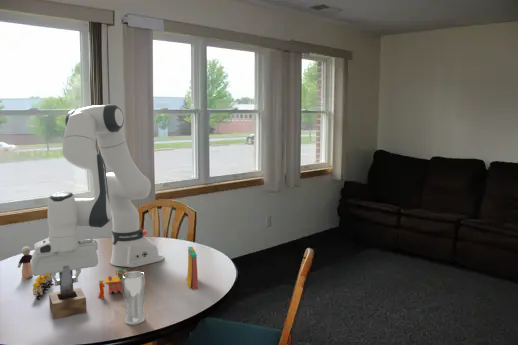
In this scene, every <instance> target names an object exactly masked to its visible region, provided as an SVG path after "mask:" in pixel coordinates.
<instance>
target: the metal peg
mask: <svg viewBox="0 0 518 345" xmlns="http://www.w3.org/2000/svg"><path fill="white" fill-rule="evenodd" d="M73 273H74V272H73V270H70V269H69V266H64V267H63V272H58V275H59V278H58V279H60V285H59V291H60V295H61V300H63V299H68V298H73V297H74V291H73V289H74V283H73V276H74V275H73Z"/></svg>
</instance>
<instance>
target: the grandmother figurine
mask: <svg viewBox="0 0 518 345" xmlns="http://www.w3.org/2000/svg"><path fill="white" fill-rule="evenodd" d="M30 253H31V247H30V246H23V247H22V248H21V254H23V255H22V256H21V257H20V260H19V261H18V264H17V268H18V269H20V268H21V280H22V281H26V280H28V279H31V278H32V279H33V278H34V275H33V274H32V273H31V259H32V255H33V254H30ZM21 266H22V267H21Z"/></svg>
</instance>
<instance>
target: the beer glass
mask: <svg viewBox="0 0 518 345" xmlns="http://www.w3.org/2000/svg"><path fill="white" fill-rule="evenodd" d="M126 272H127V273H124V274H123V275H122V298H123V302H124V307H125V318H124V322H125V324H127V325H131V326H134V325H139V324H142V323H144V322H145V319H146V317H145V313H144V304H145V297H146V280H145V273H144V272H142V271H140V270H132V271H126Z"/></svg>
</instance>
